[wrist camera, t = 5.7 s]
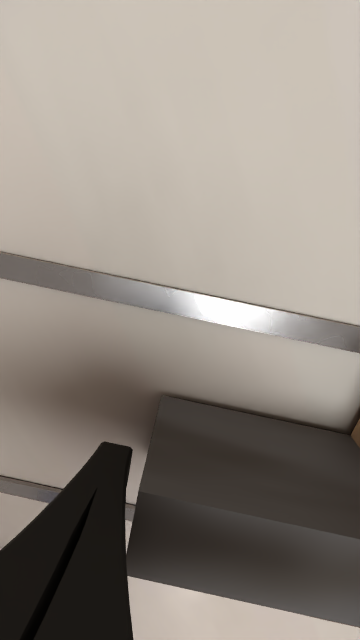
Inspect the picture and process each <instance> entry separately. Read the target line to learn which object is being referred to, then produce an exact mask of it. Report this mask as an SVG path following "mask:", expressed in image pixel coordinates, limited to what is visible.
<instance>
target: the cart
mask: <svg viewBox="0 0 360 640" xmlns="http://www.w3.org/2000/svg"><path fill="white" fill-rule="evenodd" d="M126 564H127V576H131V577H135V578H140V579H144V580H149V581H153V582H158V583H162V584H167V585H171V586H176V587H180V588H185V589H189V590H194V591H198V592H203V593H207V594H212V595H216V596H221V597H225V598H230V599H234V600H239V601H243V602H248V603H252V604H257V605H261V606H266V607H270V608H275V609H279V610H284V611H288V612H293V613H297V614H302V615H306V616H310V617H314V618H319V619H323V620H328V621H332V622H337V623H341V624H346V625H350V626H355V627H359V628H360V419H359V421H358V423H357V424H356V426H355V428H354V430H353V432H352V434H351V435H346V434H341V433H336V432H332V431H327V430H322V429H318V428H313V427H308V426H304V425H299V424H294V423H290V422H285V421H280V420H275V419H271V418H266V417H261V416H257V415H252V414H247V413H243V412H238V411H233V410H228V409H224V408H219V407H214V406H210V405H205V404H200V403H196V402H191V401H186V400H182V399H177V398H172V397H167V396H163V395H162V397H161V401H160V405H159V409H158V413H157V417H156V421H155V425H154V430H153V434H152V438H151V442H150V446H149V450H148V454H147V458H146V462H145V467H144V471H143V475H142V479H141V483H140V487H139V491H138V496H137V502H136V507H135V512H134V517H133V522H132V528H131V533H130V538H129V543H128V548H127V554H126Z"/></svg>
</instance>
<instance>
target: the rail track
mask: <svg viewBox="0 0 360 640" xmlns="http://www.w3.org/2000/svg"><path fill="white" fill-rule="evenodd" d="M0 278H3V279H7V280H12V281H17V282H22V283H27V284H31V285H36V286H41V287H46V288H51V289H55V290H60V291H65V292H70V293H74V294H79V295H84V296H89V297H94V298H98V299H103V300H108V301H113V302H117V303H122V304H127V305H132V306H137V307H141V308H146V309H151V310H156V311H161V312H165V313H170V314H175V315H180V316H184V317H189V318H194V319H199V320H204V321H208V322H213V323H218V324H223V325H228V326H232V327H237V328H242V329H247V330H251V331H256V332H261V333H266V334H271V335H275V336H280V337H285V338H290V339H295V340H299V341H304V342H309V343H314V344H318V345H323V346H328V347H333V348H338V349H342V350H347V351H352V352H357V353H360V326H355V325H350V324H345V323H340V322H336V321H331V320H326V319H321V318H316V317H311V316H307V315H302V314H297V313H292V312H287V311H283V310H278V309H273V308H268V307H263V306H259V305H254V304H249V303H244V302H239V301H234V300H230V299H225V298H220V297H215V296H210V295H206V294H201V293H196V292H191V291H186V290H182V289H177V288H172V287H167V286H162V285H157V284H153V283H148V282H143V281H138V280H133V279H129V278H124V277H119V276H114V275H109V274H104V273H100V272H95V271H90V270H85V269H80V268H76V267H71V266H66V265H61V264H56V263H52V262H47V261H42V260H37V259H32V258H27V257H23V256H18V255H13V254H8V253H3V252H0ZM61 491H62V490H61V489H57V488H52V487H47V486H43V485H38V484H34V483H29V482H25V481H20V480H15V479H11V478H6V477H2V476H0V492H1V493H6V494H10V495H15V496H19V497H24V498H28V499H33V500H37V501H42V502H47V503H51V502H52V501H53V499H54V498H55V497H56V496H57V495H58V494H59V493H60V492H61ZM135 507H136V506H134V505H130V504H125V520H129V521H133V517H134V512H135Z"/></svg>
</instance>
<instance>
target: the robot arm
mask: <svg viewBox="0 0 360 640" xmlns="http://www.w3.org/2000/svg"><path fill="white" fill-rule="evenodd" d="M132 451H133V450H132V449H131V447H128V446H123V445H118V444H114V443H109V442H103V443H101V444H100V446H99V447H98V449H97V450H96V451H95V453H94V454H93V455H92V456H91V458H90V459H89V460H88V461H87V463H86V464H85V465H84V466H83V467H82V469H81V470H80V471H79V472H78V473H77V474H76V476H75V477H74V478H73V479H72V480H71V481H70V482H69V483H68V484H67V486H66V487H65V488H64V489H63V490H62V491H61V492H60V493H59V494H58V495H57V496H56V497H55V498H54V499H53V501H52V502H51V503H50V504H49V505H48V506H47V507H46V508H45V509H44V510H43V511H42V512H41V513H40V514H39V515H38V516H37V517H36V518H35V519H34V520H33V521H32V522H31V523H30V524H29V525H28V526H26V527H25V528H24V529H23V530H22V531H21V532H20V533H19V534H18V535H17V536H16V537H15V538H14V539H13V540H11V541H10V542H9V543H8V544H7V545H6V546H5V547H4V548H3V549H1V550H0V640H133V632H132V623H131V614H130V605H129V592H128V580H127V564H126V541H125V504H126V486H127V482H128V475H129V469H130V463H131V457H132Z"/></svg>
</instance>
